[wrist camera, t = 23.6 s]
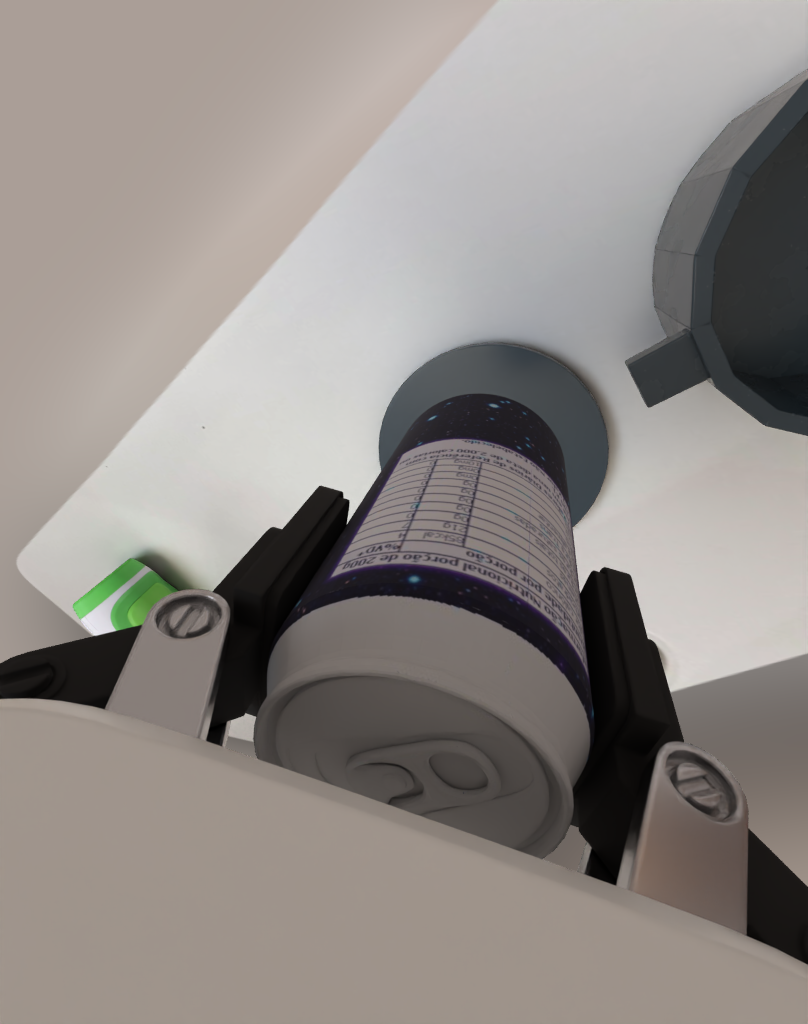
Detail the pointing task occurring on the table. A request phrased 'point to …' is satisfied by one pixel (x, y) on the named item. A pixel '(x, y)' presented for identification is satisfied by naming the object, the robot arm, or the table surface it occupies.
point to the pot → (739, 269)
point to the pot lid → (524, 382)
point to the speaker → (122, 598)
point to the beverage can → (446, 636)
